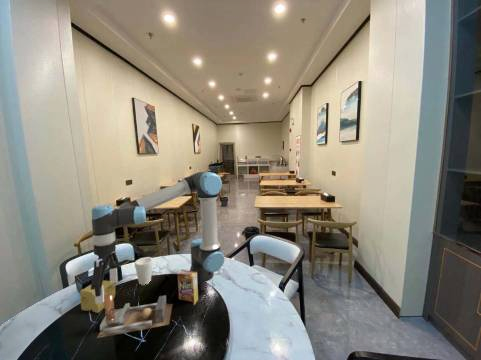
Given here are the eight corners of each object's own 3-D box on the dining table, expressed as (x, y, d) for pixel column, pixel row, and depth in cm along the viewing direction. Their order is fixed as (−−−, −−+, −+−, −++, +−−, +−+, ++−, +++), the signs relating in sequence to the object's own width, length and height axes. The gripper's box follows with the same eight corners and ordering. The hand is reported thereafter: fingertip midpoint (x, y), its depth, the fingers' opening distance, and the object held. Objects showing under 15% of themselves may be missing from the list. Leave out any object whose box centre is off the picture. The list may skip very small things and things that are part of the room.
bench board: (172, 306, 96) (171, 291, 96) (169, 327, 84) (168, 311, 83) (110, 317, 91) (109, 301, 90) (97, 341, 78) (95, 323, 77)
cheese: (98, 313, 93) (96, 293, 92) (79, 310, 95) (78, 290, 94) (116, 298, 103) (115, 280, 102) (99, 296, 105) (97, 278, 105)
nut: (152, 313, 90) (152, 305, 90) (151, 320, 86) (150, 311, 86) (143, 315, 89) (143, 306, 89) (141, 321, 85) (140, 313, 85)
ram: (130, 313, 90) (128, 287, 89) (124, 327, 82) (122, 298, 81) (108, 317, 88) (106, 290, 87) (99, 331, 80) (97, 302, 79)
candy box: (178, 302, 99) (177, 273, 98) (183, 297, 103) (182, 268, 102) (194, 305, 97) (192, 275, 95) (198, 300, 101) (197, 271, 100)
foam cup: (133, 282, 117) (132, 261, 116) (149, 275, 124) (148, 255, 123) (140, 288, 111) (139, 266, 110) (156, 281, 118) (155, 260, 117)
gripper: (107, 233, 93) (110, 277, 95) (76, 257, 69) (80, 314, 70) (125, 232, 95) (127, 275, 96) (100, 254, 71) (104, 311, 72)
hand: (107, 291), depth 83 cm, fingers open, 13 cm apart
